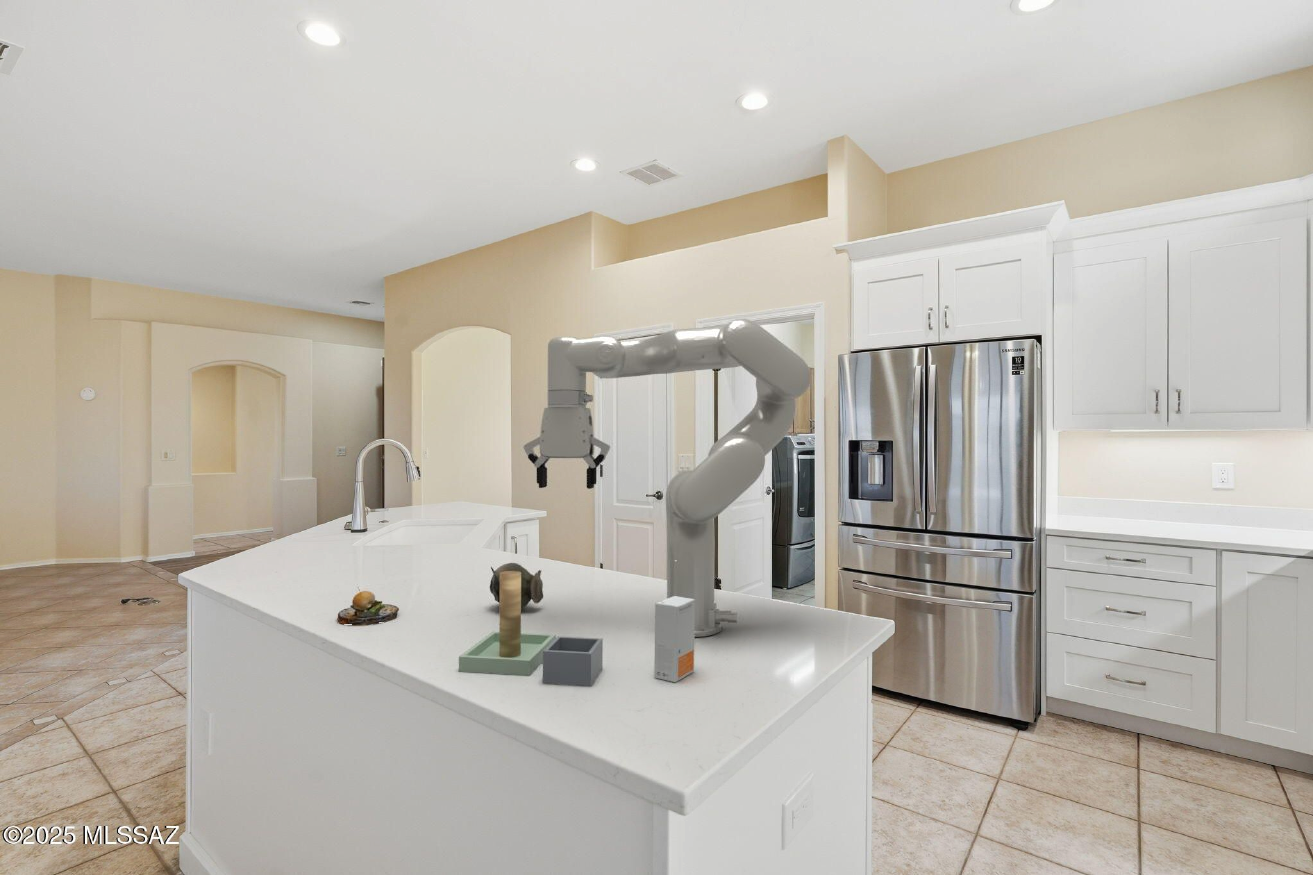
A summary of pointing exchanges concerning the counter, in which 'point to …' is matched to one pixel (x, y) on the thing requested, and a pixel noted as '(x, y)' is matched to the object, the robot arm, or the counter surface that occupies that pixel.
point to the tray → (488, 659)
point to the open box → (572, 661)
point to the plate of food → (367, 611)
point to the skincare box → (674, 638)
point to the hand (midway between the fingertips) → (566, 487)
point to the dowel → (510, 614)
